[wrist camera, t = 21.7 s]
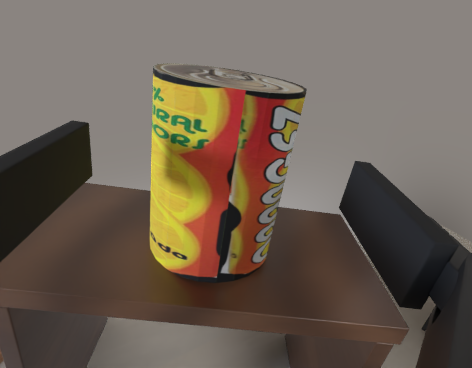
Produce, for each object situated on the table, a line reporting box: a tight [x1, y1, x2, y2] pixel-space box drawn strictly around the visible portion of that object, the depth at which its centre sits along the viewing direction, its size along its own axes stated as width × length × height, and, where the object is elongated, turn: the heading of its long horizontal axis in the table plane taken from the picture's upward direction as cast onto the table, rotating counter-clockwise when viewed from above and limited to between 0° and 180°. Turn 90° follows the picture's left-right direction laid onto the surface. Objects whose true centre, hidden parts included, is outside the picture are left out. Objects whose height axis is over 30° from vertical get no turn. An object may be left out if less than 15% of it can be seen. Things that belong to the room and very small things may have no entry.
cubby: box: [0, 183, 409, 368], centre depth 27 cm, size 25×13×18 cm, turn 90°
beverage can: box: [150, 64, 306, 283], centre depth 20 cm, size 9×9×12 cm
